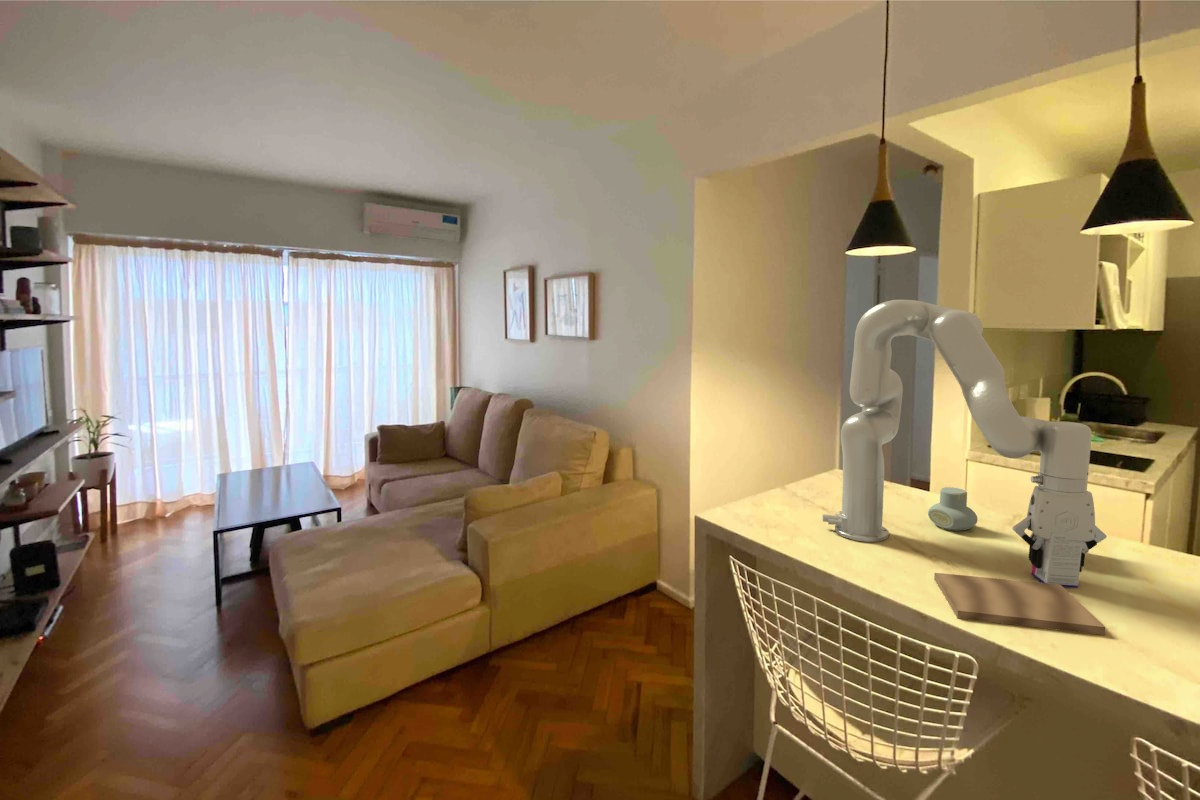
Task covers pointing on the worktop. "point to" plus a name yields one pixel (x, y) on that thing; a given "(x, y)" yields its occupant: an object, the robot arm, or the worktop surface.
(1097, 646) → the worktop surface
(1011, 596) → the walnut board
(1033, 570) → the supplement box
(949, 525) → the air freshener
